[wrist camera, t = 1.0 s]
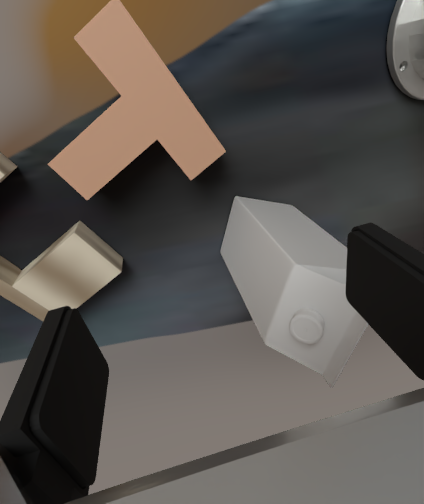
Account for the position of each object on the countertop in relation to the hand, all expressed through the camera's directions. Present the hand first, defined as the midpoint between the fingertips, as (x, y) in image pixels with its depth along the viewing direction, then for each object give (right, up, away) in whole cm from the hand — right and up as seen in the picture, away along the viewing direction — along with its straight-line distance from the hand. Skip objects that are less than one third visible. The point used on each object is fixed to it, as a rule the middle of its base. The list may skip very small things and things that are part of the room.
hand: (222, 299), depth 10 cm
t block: (-8, +13, +17) cm, 23 cm away
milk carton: (+5, +4, +25) cm, 26 cm away
